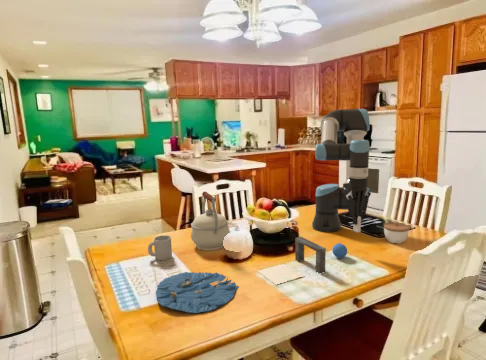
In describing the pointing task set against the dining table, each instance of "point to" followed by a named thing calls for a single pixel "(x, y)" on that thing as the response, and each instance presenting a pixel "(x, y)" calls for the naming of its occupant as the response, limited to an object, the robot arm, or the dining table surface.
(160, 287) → the blue cloth
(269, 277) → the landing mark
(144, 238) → the dining table surface
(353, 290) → the dining table surface
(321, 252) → the bridge
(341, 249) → the ball
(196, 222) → the kettle
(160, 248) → the cup
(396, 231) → the white lidded pot
